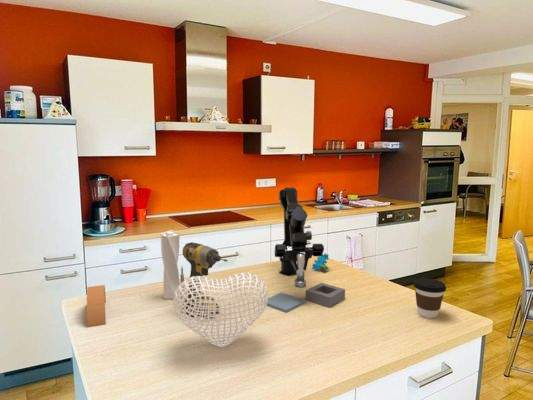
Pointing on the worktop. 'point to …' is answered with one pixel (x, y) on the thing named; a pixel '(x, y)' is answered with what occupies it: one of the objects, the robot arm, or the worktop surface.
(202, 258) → the cordless drill
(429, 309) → the coffee cup
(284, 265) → the robot arm
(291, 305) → the mat
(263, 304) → the heart
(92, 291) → the orange rectangular block
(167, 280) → the skyscraper
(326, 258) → the blue flower bunch
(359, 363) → the worktop surface
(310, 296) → the socket block
